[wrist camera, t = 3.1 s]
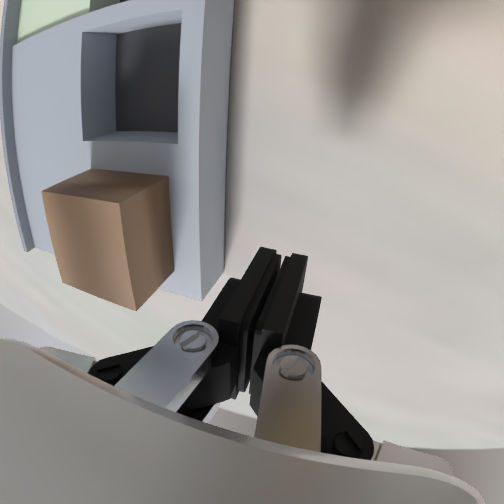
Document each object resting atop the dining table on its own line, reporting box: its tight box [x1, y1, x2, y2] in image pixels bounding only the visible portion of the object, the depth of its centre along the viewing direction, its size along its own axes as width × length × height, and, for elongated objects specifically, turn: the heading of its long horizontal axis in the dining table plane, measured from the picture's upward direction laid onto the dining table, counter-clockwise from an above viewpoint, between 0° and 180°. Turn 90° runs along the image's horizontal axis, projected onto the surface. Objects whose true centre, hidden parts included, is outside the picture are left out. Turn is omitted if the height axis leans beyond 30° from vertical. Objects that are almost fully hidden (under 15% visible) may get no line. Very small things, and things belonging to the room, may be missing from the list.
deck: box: [0, 0, 234, 301], centre depth 14 cm, size 16×22×4 cm
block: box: [41, 169, 174, 311], centre depth 14 cm, size 5×5×4 cm
